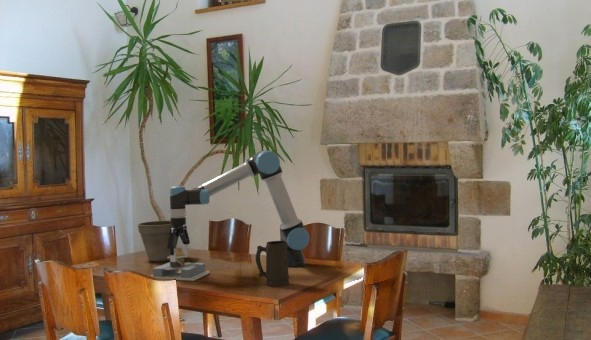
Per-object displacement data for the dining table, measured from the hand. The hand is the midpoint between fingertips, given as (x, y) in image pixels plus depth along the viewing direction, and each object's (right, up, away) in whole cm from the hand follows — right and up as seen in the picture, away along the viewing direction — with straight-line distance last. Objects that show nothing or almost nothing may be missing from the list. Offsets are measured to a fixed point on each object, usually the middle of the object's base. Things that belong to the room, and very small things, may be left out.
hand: (179, 259), depth 313 cm
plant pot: (-21, -8, +53) cm, 57 cm away
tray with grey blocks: (0, -8, 0) cm, 8 cm away
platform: (0, -3, 0) cm, 3 cm away
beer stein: (+48, -8, -23) cm, 54 cm away
